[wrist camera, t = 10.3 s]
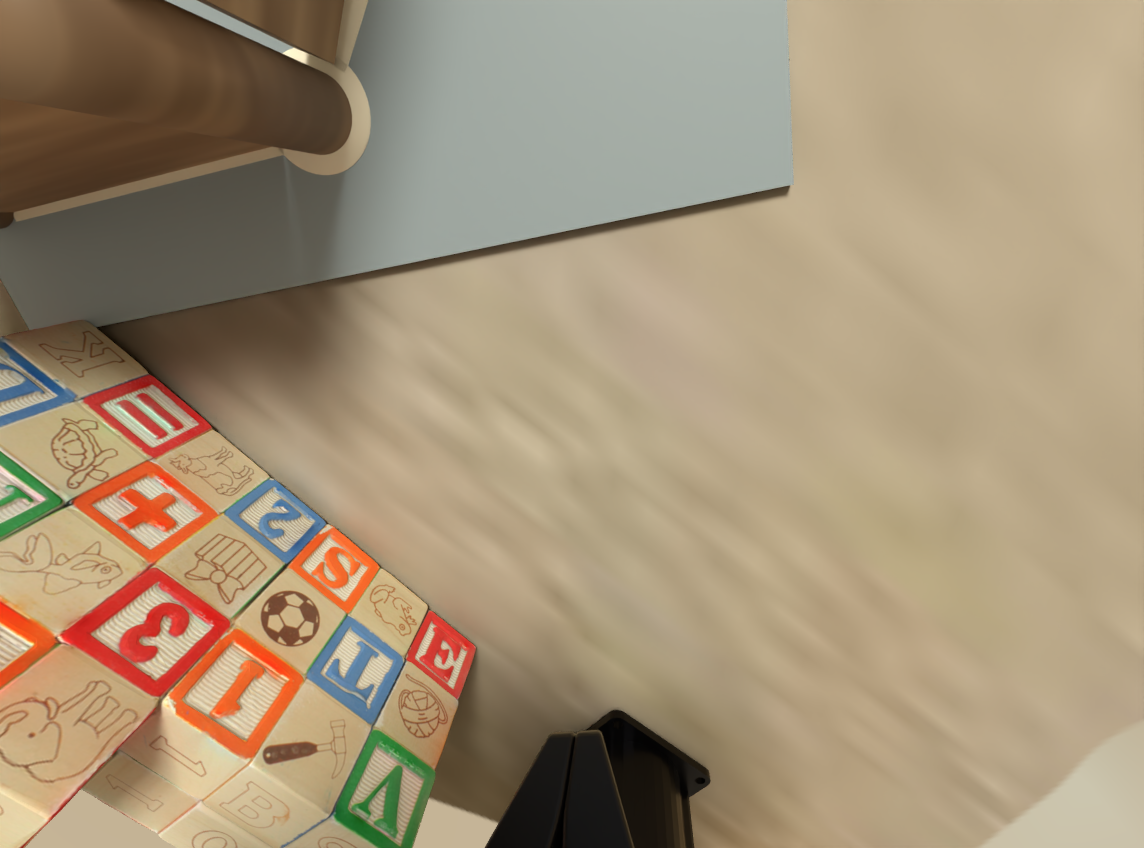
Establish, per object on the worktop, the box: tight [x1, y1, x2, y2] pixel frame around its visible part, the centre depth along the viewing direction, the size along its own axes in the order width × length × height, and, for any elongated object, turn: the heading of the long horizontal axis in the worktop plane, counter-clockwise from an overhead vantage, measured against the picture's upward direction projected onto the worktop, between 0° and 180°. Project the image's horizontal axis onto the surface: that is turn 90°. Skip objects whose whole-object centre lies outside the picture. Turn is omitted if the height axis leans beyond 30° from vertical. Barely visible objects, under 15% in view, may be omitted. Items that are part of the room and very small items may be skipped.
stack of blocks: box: [0, 320, 476, 848], centre depth 18 cm, size 21×6×12 cm, turn 44°
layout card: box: [0, 0, 794, 330], centre depth 16 cm, size 16×29×1 cm, turn 101°
